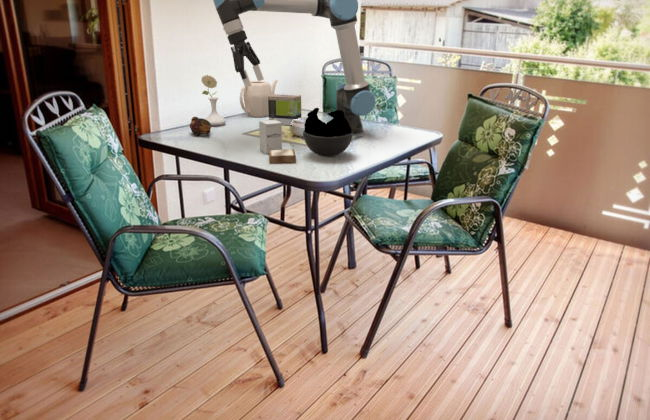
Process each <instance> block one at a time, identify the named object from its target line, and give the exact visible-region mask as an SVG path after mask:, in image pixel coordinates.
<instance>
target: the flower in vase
mask: <svg viewBox="0 0 650 420" xmlns="http://www.w3.org/2000/svg"><path fill="white" fill-rule="evenodd" d="M201 83H202V84H203V86H204V87H206V88H207V90H204V91H202V94H201V95H207V96H210V97H208V100H209V101H210V102H209V103H210V105H211V112H210V114H209V115H208V116H207V117H205V119H206V120H207V121H209V122H210V124H211V127H213V126H221V125H225V124H226V122H227V120H226V119H225V117H223V116H222V115H220V114H219V113H218V111H217V102H218V99H219V97H217V96H215V97H213V96H214V95H216V93H217V92H218V91H215V92H213V93H212V94H211V93H210V91H209V89H213V88H216V87H217V84H218V81H217V80H216V78H215V77H214V76H211V75H208V74H207V75H206V74H205V75H203V76H202V77H201Z"/></svg>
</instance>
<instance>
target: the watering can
mask: <svg viewBox="0 0 650 420" xmlns="http://www.w3.org/2000/svg"><path fill="white" fill-rule="evenodd" d="M250 82H251V85H252V86H249V87H246V88H245V85H244V84H243V86H242V87H241V88H240V93H239V104H240V107H241V109H242V110H243V112H244V113H246V114H247V116H248V117H251V118H252V117H253V118H263V117H269V111H268V96H271V95H274V94H275V89H276V85H277V83H278V80H277V79H275V80H274V81H273V82H272V84H270V83H269V82H268V81H266V80H261V81H258V80H250Z"/></svg>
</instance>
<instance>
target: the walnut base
mask: <svg viewBox="0 0 650 420" xmlns="http://www.w3.org/2000/svg"><path fill="white" fill-rule="evenodd" d="M268 156H269V157H268V159H269V161H268V162H269V165H281V164H282V165H285V164H297V161H296V160H297V158H296V152H295V149H294V148H293V149H288V148H287V149H282V150H269V154H268Z"/></svg>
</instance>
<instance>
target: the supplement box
mask: <svg viewBox="0 0 650 420" xmlns="http://www.w3.org/2000/svg"><path fill="white" fill-rule="evenodd" d="M258 124H259V125H258V127H259V129H258V131H259V151H261V152H262V153H264V154H265V155H269V150H283V129H282V128H283V125H282V123H281V122H279V121H277V120H269V119H268V120H259V121H258Z"/></svg>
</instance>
